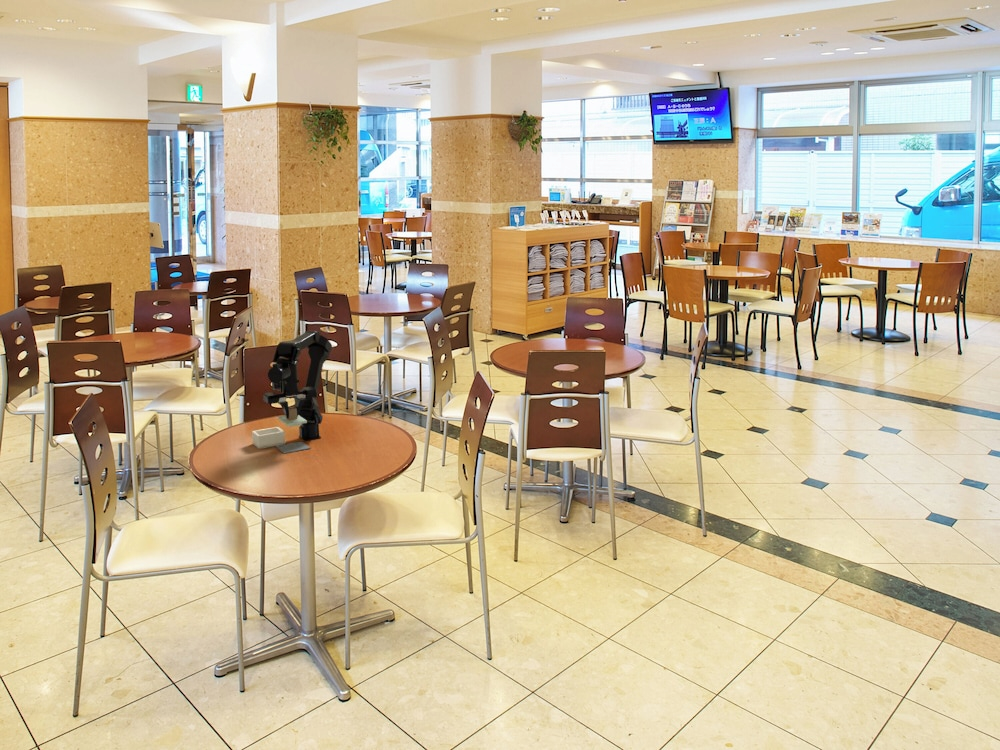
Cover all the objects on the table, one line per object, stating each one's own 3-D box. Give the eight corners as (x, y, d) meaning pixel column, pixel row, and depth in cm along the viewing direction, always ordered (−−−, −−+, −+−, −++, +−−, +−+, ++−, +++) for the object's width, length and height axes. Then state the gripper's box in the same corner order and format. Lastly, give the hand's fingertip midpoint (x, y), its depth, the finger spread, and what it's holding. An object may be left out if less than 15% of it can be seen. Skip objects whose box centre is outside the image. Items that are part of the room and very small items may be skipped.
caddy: (278, 439, 332) (277, 426, 331) (285, 444, 326) (284, 431, 325) (252, 443, 327) (252, 431, 325) (259, 449, 321) (258, 436, 320)
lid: (307, 425, 318) (306, 410, 316) (287, 428, 314) (286, 413, 312) (296, 418, 326) (295, 403, 325) (277, 421, 322) (276, 406, 321)
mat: (301, 442, 329) (301, 441, 328) (310, 448, 322) (310, 447, 322) (276, 447, 323) (275, 446, 323) (284, 453, 316) (284, 452, 316)
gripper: (305, 368, 327) (307, 408, 331) (256, 375, 317) (259, 416, 321) (317, 374, 318) (319, 415, 322) (267, 381, 308) (269, 424, 312)
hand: (291, 417), depth 319 cm, fingers closed on lid, 3 cm apart
